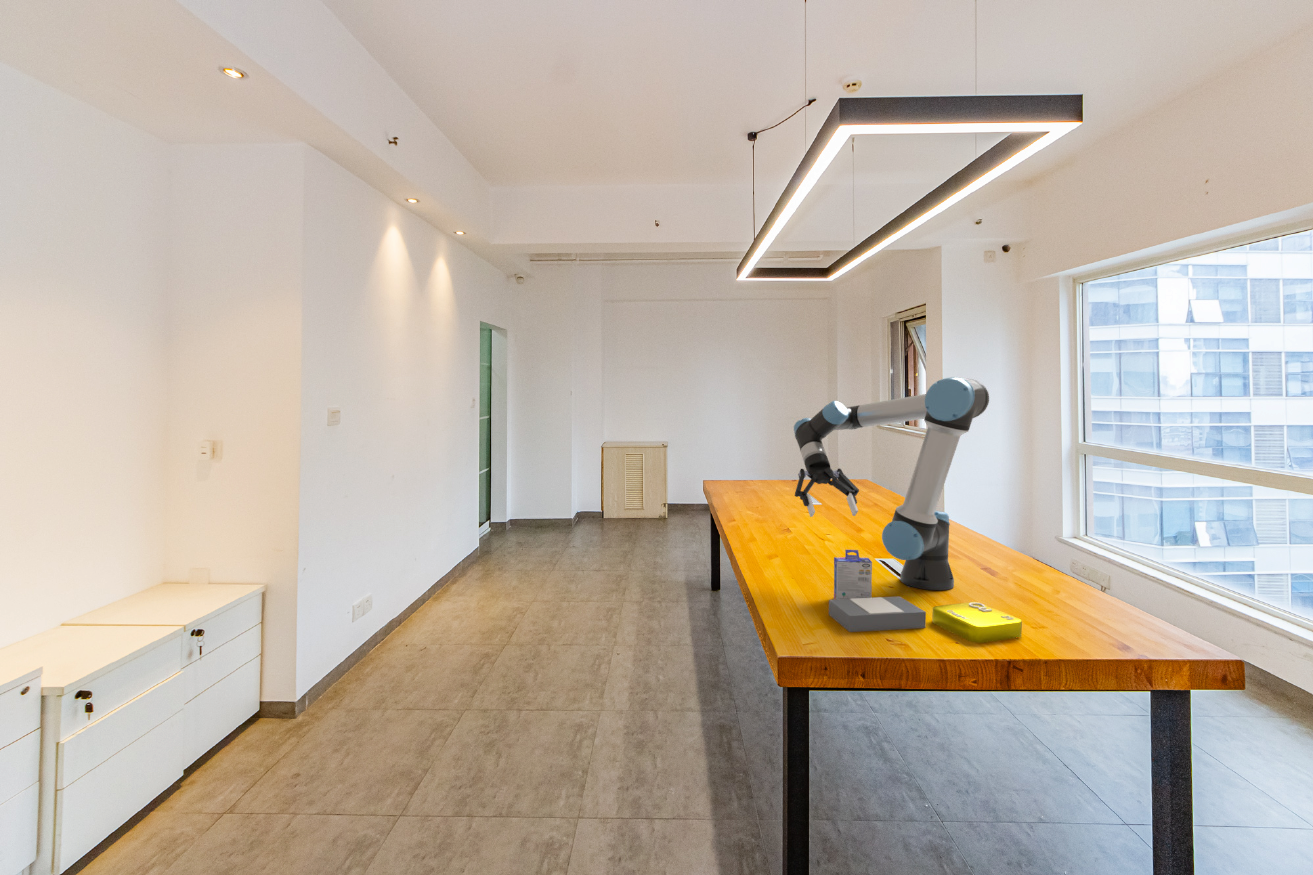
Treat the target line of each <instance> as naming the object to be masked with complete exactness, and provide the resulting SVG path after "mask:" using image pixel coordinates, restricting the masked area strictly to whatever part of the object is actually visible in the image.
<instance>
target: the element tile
mask: <svg viewBox="0 0 1313 875" xmlns="http://www.w3.org/2000/svg"><path fill="white" fill-rule="evenodd" d="M931 622H932V624H934V625H935V626H938V627H940V628H941V629H944V630H946V631H948V632H950V633H952V634H954V635H955V636H958V637H959V638H960V637H961V638H962V639H963V640H966V641H969V642H971V643H976V644H977V643H978V644H983V643H991V642H997V641H998V642H1000V641H1006V640H1013V638H1014V639H1017V638H1016V637H1020V638H1021V637H1022V633H1023V632H1022V629H1023V627H1022V626H1023V621H1022V619H1020V618H1018V617H1015V616H1013V615H1011V614H1009V613H1006V612H1003V611H1001V610H998V609H997V608H993V607H990V606H989V605H986V604H983V603H981V602H978V601H970V602H960V603H952V604H943V605H934V606H932V621H931Z"/></svg>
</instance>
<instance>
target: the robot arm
mask: <svg viewBox="0 0 1313 875" xmlns="http://www.w3.org/2000/svg"><path fill="white" fill-rule="evenodd" d="M989 403H990V395H989V390H988V389H987V388H986V386H985V385H984V384H983V383H982V382H980V381H978V380H976V379H972V378H963V377H962V378H961V377H957V376H956V377H955V376H951V377H946V378H942V379H940V380H937V381H936V382H934V383H933V384H931V386H929V388H928V390H927V392H926V393H924V394H919V395H918V394H917V395H912V396H906V397H901V398H894V399H888V400H883V401H879V402H871V403H864V404H860V405H859V404H858V405H852V406H847V407H846V406H845V404H843V403H842V402H839V401H838V400H832V401H831V402H829V403H828V404H825V406H824V407H823V408H822V409H821V410H820V411H818V412H817V413H816V414H815V415H814V416H813V417H812V418H809V417H804V418H802V419H800V420H797V421H796V422H795V423H794V425H793V431H794V438H795V439H796V442H797V445H798V447H799V452H800V455H801V457H802V460H803V462H804V466H805V469H806V470H805V469H804V468H800V470H799V472H798V475H797V476H798V482H797V484H796V488H795V491H794V492H795V493H794V497H795V498H799V497H800V498H799V499H800V500H801V501H802V504H803V506H804V507H807V510H808V515H809V517H811V518H812V517H814V514H815V513H816V509H815V507H814V504H813V500H812V498H811V494H810V493H809V491H810V490H811V489H812V487H813V486H814V484H817V485H821V484H824V485H827V484H828V485H829V486H831V487H832V486H833V487H834V488H835V489H837V490H838V491H839V492H841V493H842V494H843V495H845V496H846V500H847V503H848V506H849V509H850V511H851V512H850V513H851V515H852V516H854V517H856V515H857V513H859V509H858V506H857V503H858V500H857V498H856V497H857V495H858V493H859V492H860V489H859V488H858V486H856V485H855V484H854V482H853V481H851V480H850V479H849V478H848V477H847V476H846V474H844V472H843V470H842V468H839V467H838V468H837V470H836V469H835V470H833V469H832V467H831V464H830V460H829V458H828V456H827V452H826V450H825V447H824V445H823V442H822V441H823V439H825V438H826V437H827V436H828V435H830V434H831V433H832V432H833V431H839V430H840V431H842V430H857V429H860V428H861V429H862V428H866V427H874V426H880V425H881V426H883V425H888V424H889V425H890V424H897V423H903V422H910V421H919V420H924V421H923V422H924V423H925V424H926V426H927V429H926V433H925V435H924V439H923V441H922V444H921V448H920V451H919V454H918V457H917V459H916V463H915V467H914V470H913V473H912V475H911V478H910V482H909V485H908V488H907V492H906V495H905V497H904V501H903V504H901V505H898V506H897V507H896V508H895V510H894V514H893V516H892V518H891V519H892V520H891V521H890V522H888V523H887V524H886V525H885V527H884V528H883V530H882V533H881V541H882V543H883V546H884V547H885V549H886V551H887V553H889V554H890V555H891V556H892V557H894V558H895V559H898V560H900V561H904V563H903V567H902V569H901V572H900V582H901V583H903V584H904V585H906V586H909V587H911V588H916V589H921V590H930V591H945V590H946V591H947V590H951V589H953V588H954V586H955V579H954V575H953V573H952V569H951V565H950V562H949V547H950V546H949V542H950V525H951V522H950V516H949V514H948V513H947V512H945V511H944V512H943V511H938V510H936V509H937V507H938V503H939V502H940V498H941V494H942V492H943V489H944V486H945V483H946V480H947V477H948V474H949V471H950V468H951V465H952V462H953V459H954V456H955V453H956V450H957V447H958V444H959V441H960V438H961V436H962V435H964V434H966V433H969V430H970V428H971V425H972V422H973V419H975V418H977V417H979V416H981V415H982V414H983V413H984V412H985V411H986V410H987V408H988V406H989ZM806 477H808V478H809V480H810V481H809V482H808V484H807V485H806V486H805V488H804V490H803V491H802V488H803V484H804V480H805V478H806Z"/></svg>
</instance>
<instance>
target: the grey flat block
mask: <svg viewBox="0 0 1313 875" xmlns="http://www.w3.org/2000/svg"><path fill="white" fill-rule="evenodd" d="M926 613H927V612H926V611H925V610H923V609H921V608H919V606H916V605H914V604H913V603H911V602H910V601H908V600H907V599H904V598H903V597H902V596H884V597H883V596H882V597H881V596H878V597H877V596H876V597H871V598H855V599H836V600H834V599H829V600H828V616H830V617H831V618H832V619H833V620H834V621H836V622H837V623H838V624H839V625H841V627H843V628H844V629H846V630H847V631H848V632H849V633H854V632H855V633H857V632H873V631H876V632H877V631H890V630H891V631H893V630H906V629H907V630H909V629H912V630H913V629H925V628H926V624H927V623H926V620H927V619H926V618H927V617H926V616H927V614H926Z"/></svg>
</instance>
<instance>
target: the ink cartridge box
mask: <svg viewBox="0 0 1313 875" xmlns="http://www.w3.org/2000/svg"><path fill="white" fill-rule="evenodd" d="M844 553H845V554H844V555H845V557H840V556H839V557H836V556H835V557H833V565H834V566H833V571H834V572H833V574H834V575H833V579H834V580H833V585H834V586H833V600H836V599H855V598H872V587H873V586H872V585H873V584H872V578H873V577H872V574H873V562H872V560H871V559H870V558H869V557H860V554H859V549H845V552H844ZM849 553H854V554H849ZM855 554H856V555H855Z"/></svg>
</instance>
